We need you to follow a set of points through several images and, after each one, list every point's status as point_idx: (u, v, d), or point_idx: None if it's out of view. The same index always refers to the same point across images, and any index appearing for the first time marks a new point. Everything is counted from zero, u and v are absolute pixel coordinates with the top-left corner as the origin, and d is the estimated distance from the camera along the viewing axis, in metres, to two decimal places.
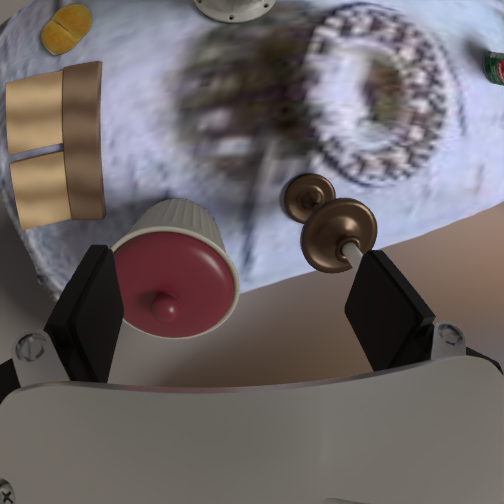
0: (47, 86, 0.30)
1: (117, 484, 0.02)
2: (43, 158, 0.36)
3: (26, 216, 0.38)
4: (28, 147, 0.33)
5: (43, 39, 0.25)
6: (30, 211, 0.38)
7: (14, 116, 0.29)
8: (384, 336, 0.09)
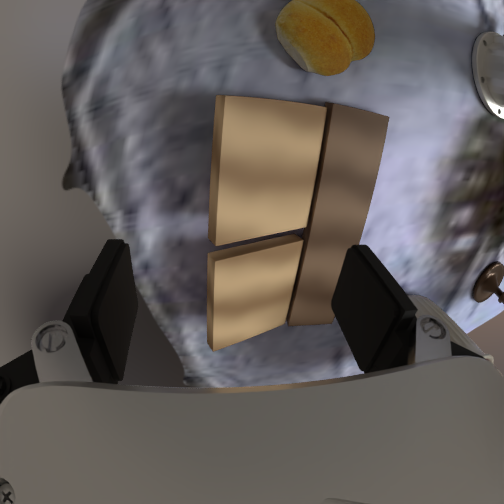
0: (302, 129, 0.23)
1: (117, 484, 0.02)
2: (274, 251, 0.28)
3: (225, 333, 0.31)
4: (254, 233, 0.26)
5: (301, 34, 0.18)
6: (233, 326, 0.31)
7: (236, 174, 0.22)
8: (367, 330, 0.09)
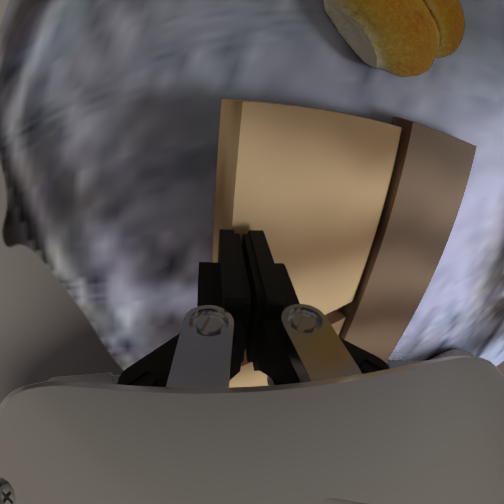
0: (368, 164, 0.13)
1: (117, 484, 0.02)
2: None
3: None
4: None
5: (372, 2, 0.08)
6: None
7: None
8: None
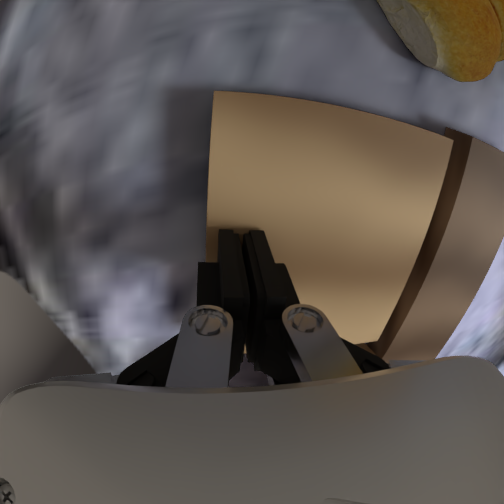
0: (400, 177, 0.10)
1: (117, 484, 0.02)
2: None
3: None
4: None
5: None
6: None
7: None
8: (249, 318, 0.09)
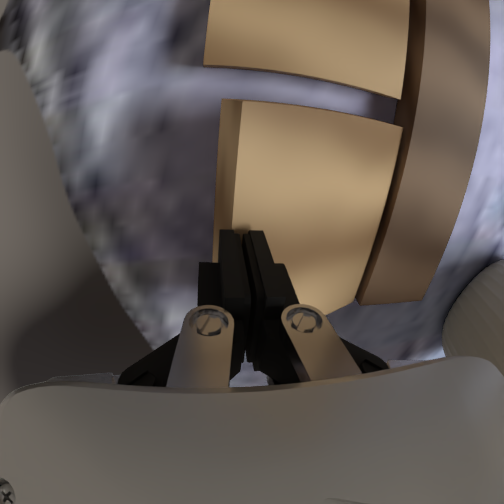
0: None
1: (117, 484, 0.02)
2: (363, 129, 0.12)
3: None
4: (290, 63, 0.11)
5: None
6: None
7: None
8: (248, 319, 0.09)
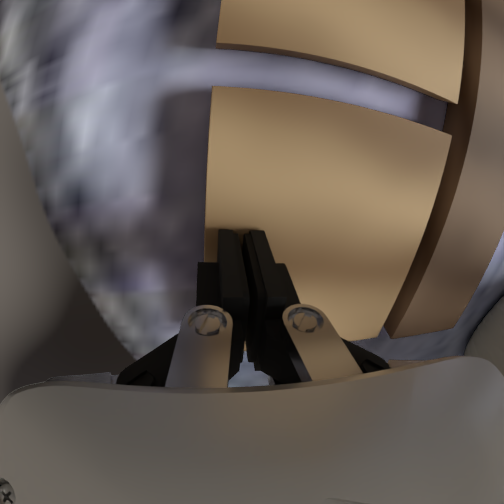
0: None
1: (117, 484, 0.02)
2: (388, 127, 0.09)
3: None
4: (333, 47, 0.08)
5: None
6: None
7: None
8: (249, 318, 0.09)
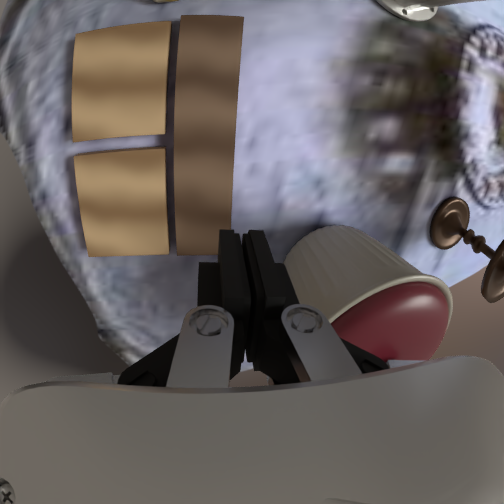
0: (142, 42, 0.21)
1: (117, 484, 0.02)
2: (129, 155, 0.26)
3: (96, 238, 0.30)
4: (105, 134, 0.25)
5: None
6: (102, 233, 0.30)
7: (84, 84, 0.22)
8: None
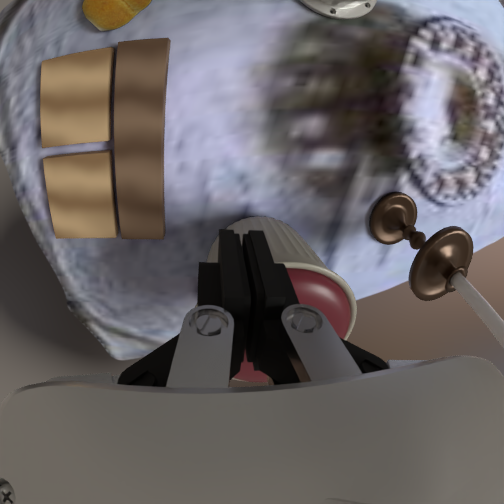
0: (89, 67, 0.25)
1: (117, 484, 0.02)
2: (83, 158, 0.31)
3: (61, 223, 0.35)
4: (65, 141, 0.29)
5: (87, 9, 0.20)
6: (65, 219, 0.34)
7: (49, 102, 0.26)
8: (248, 318, 0.09)
